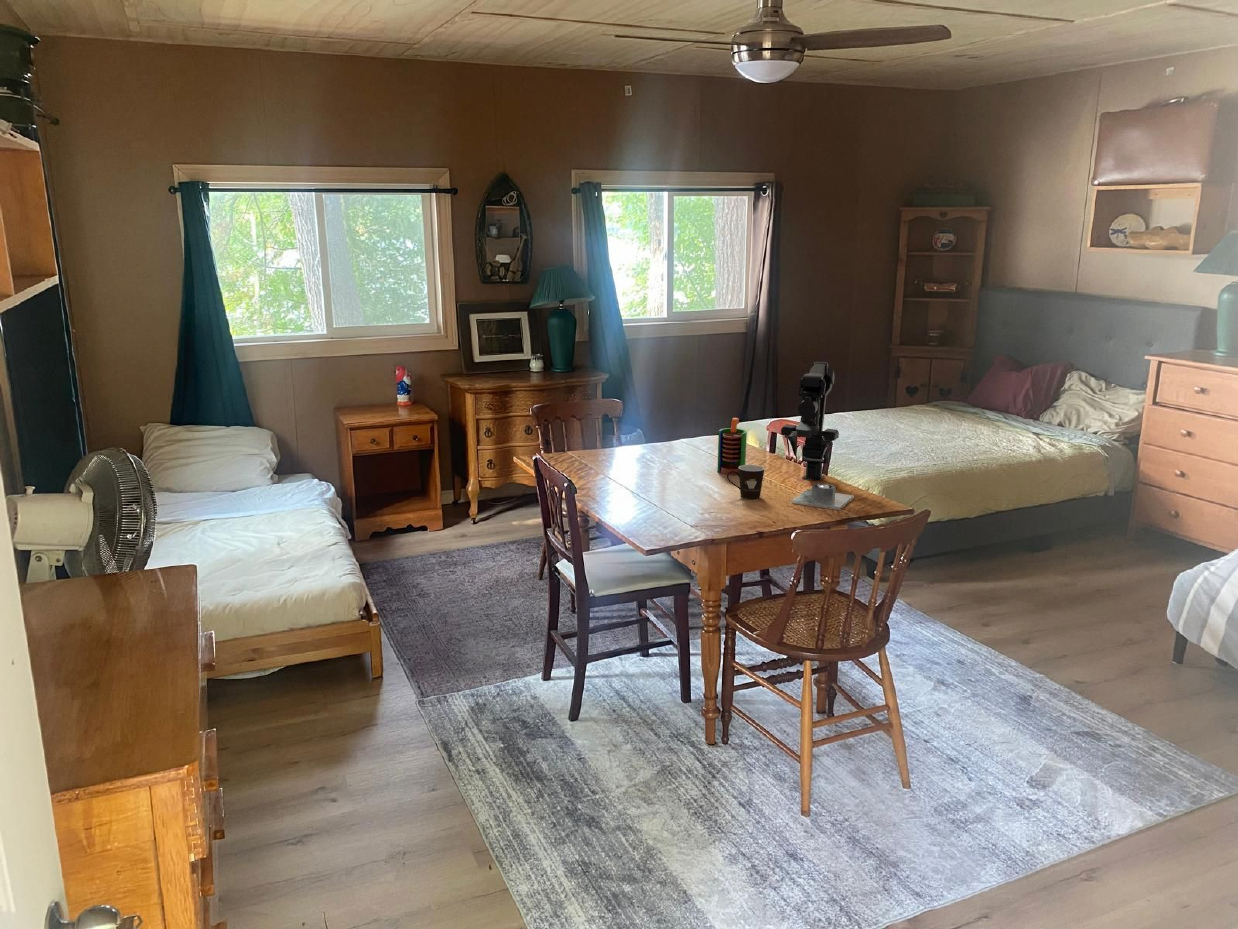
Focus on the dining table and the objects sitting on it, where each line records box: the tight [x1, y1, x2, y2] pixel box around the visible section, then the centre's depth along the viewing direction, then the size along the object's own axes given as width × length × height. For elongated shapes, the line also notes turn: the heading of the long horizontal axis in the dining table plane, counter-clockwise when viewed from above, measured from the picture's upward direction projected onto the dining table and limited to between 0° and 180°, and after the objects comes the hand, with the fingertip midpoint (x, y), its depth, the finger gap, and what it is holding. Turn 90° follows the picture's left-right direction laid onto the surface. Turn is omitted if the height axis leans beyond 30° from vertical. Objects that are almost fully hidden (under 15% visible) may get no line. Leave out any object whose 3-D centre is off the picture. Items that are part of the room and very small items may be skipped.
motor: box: [717, 417, 748, 476], centre depth 345 cm, size 10×9×20 cm
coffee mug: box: [726, 464, 766, 500], centre depth 315 cm, size 12×9×10 cm
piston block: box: [791, 485, 855, 511], centre depth 311 cm, size 16×16×5 cm
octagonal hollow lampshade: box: [811, 482, 836, 501], centre depth 311 cm, size 7×7×4 cm
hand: (808, 456), depth 322 cm, fingers open, 9 cm apart
